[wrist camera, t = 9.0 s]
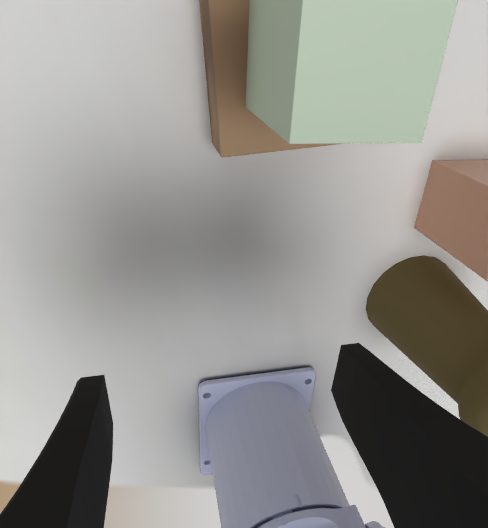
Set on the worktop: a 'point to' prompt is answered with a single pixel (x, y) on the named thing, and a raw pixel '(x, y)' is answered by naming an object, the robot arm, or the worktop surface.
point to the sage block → (346, 67)
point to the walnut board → (233, 83)
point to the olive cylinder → (437, 330)
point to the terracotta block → (458, 211)
